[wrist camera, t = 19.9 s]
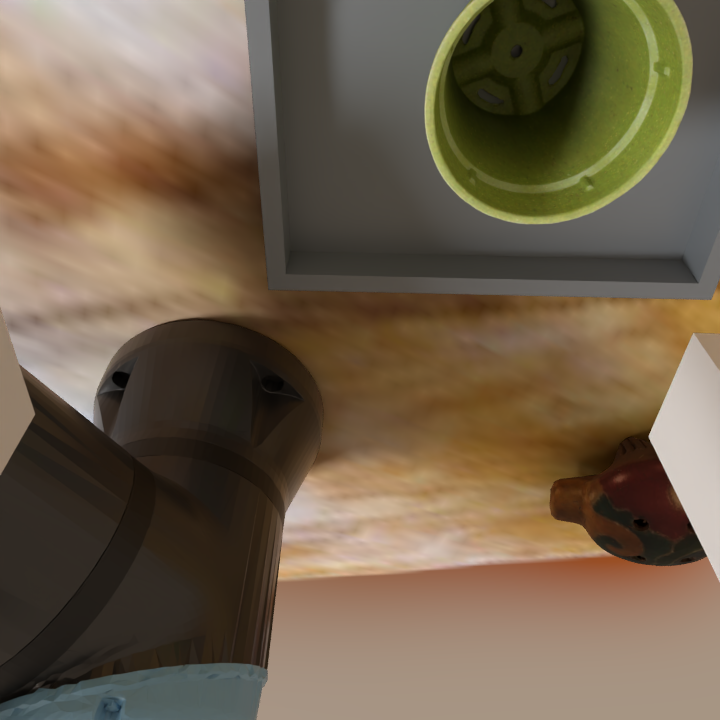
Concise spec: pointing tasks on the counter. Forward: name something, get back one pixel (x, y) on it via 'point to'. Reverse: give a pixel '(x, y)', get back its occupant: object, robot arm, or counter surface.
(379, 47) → the walled tray
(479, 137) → the plant pot
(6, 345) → the robot arm
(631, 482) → the decorative turtle
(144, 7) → the counter surface
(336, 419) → the counter surface
